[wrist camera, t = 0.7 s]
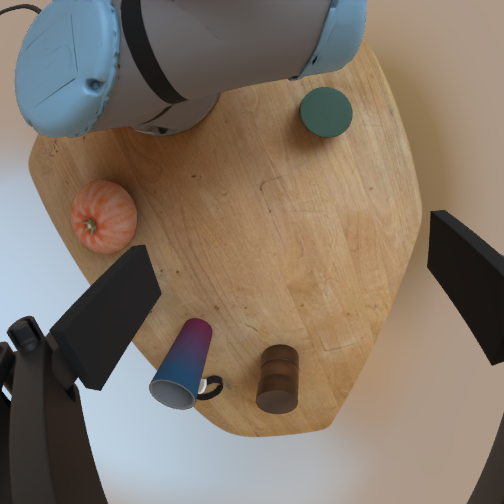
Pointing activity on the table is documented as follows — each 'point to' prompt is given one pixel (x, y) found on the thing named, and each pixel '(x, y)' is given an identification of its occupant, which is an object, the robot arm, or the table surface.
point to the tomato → (103, 217)
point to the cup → (183, 366)
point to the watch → (204, 383)
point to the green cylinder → (326, 112)
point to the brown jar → (278, 380)
